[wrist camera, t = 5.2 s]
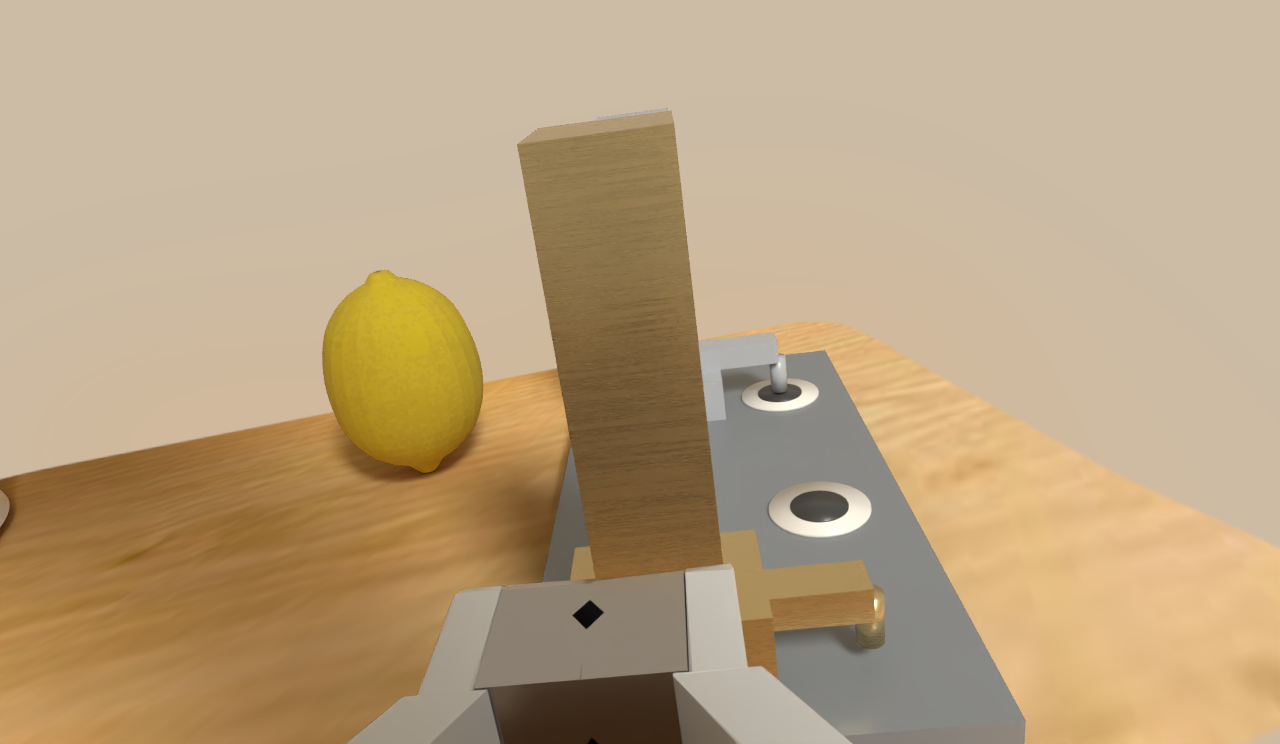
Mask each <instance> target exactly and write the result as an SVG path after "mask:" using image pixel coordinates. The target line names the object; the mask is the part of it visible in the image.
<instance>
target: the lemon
mask: <svg viewBox="0 0 1280 744" xmlns="http://www.w3.org/2000/svg"><path fill="white" fill-rule="evenodd" d="M322 354H323V355H322V356H323V357H322V358H323V374H324V381H325V386H326V390H327V394H328V397H329V401H330V403H331V406H332V409H333V411H334V414H335V416H336V418H337V420H338V422H339V424H340V426H341V428H342V429H343V431H344V432H345V434H346V435H347V436H348V438H349V439H350V440H351V441H352V442H353V443H354V444H355V445H356V446H357V447H358V448H360V449H361V450H362V451H364V452H365V453H367V454H368V455H370V456H371V457H373V458H375V459H377V460H379V461H382V462H386V463H389V464H393V465H400V466H410V467H412V468H414V469H416V470H418V471H420V472H422V473H428V472H432V471H434V470H435V469H436V468H437V467H438V466H439V464H440V463H441V461H442V459H443V458H444V456H446V455H447V454H449V453H451V452H452V451H454V450H455V449H456V448H457V447H458V446H460V445H461V444H462V443H463V442H464V440H465V439H466V438H467V436H468V435H469V434H470V432H471V431H472V429H473V427H474V426H475V424H476V421H477V418H478V416H479V412H480V408H481V403H482V398H483V375H482V368H481V362H480V358H479V355H478V352H477V349H476V346H475V343H474V341H473V338H472V336H471V334H470V332H469V330H468V328H467V326H466V324H465V322H464V320H463V318H462V316H461V315H460V313H459V311H458V310H457V309H456V307H455V306H454V304H453V303H452V302H451V301H450V300H449V299H448V298H447V297H446V296H444V295H443V294H442V293H440V292H439V291H437V290H436V289H434V288H432V287H430V286H428V285H426V284H424V283H421V282H419V281H416V280H412V279H407V278H401V277H397V276H395V275H394V274H393V273H391V272H390V271H389V270H380V271H376V272H373V273H370V274H369V276H368V278H367V280H366V282H365V284H363V285H362V286H360V287H358V288H357V289H356V290H354V291H353V292H351V293H350V294H349V295H347V297H345V299H344V300H343V301H342V302H341V303H340V304H339V305H338V307H337V308H336V309H335V311H334V313H333V315H332V316H331V318H330V320H329V322H328V325H327V328H326V331H325V334H324V341H323V352H322Z"/></svg>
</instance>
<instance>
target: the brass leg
mask: <svg viewBox="0 0 1280 744" xmlns="http://www.w3.org/2000/svg"><path fill="white" fill-rule="evenodd" d="M517 145H518V152H519V157H520V163H521V168H522V174H523V179H524V185H525V190H526V196H527V201H528V207H529V213H530V218H531V223H532V229H533V234H534V240H535V246H536V251H537V257H538V263H539V268H540V273H541V279H542V284H543V290H544V295H545V301H546V307H547V312H548V318H549V324H550V329H551V335H552V340H553V346H554V351H555V357H556V362H557V368H558V373H559V379H560V385H561V390H562V396H563V401H564V407H565V412H566V418H567V423H568V429H569V434H570V440H571V446H572V451H573V457H574V462H575V468H576V473H577V479H578V484H579V490H580V495H581V501H582V507H583V512H584V518H585V523H586V529H587V534H588V540H589V545H590V546H588V547H578V548H575V552H574V558H573V565H572V571H571V577H570V580H583V579H596V580H598V579H607V578H616V577H626V576H635V575H645V574H654V573H663V572H673V571H682V570H684V571H686V569H690V568H697V567H705V566H713V565H721V564H729V563H730V564H731V565H732V567H733V568H734V574H735V581H736V588H737V595H738V602H739V609H740V616H741V623H742V630H743V637H744V644H745V651H746V658H747V666H748V667H757V666H762V667H764V668H765V669H766V670H767V671H768V672H770V673H771V674H772V675H773V676H774V677H775V678H777V679H778V672H777V661H776V650H775V638H774V632H776V631H787V630H798V629H808V628H819V627H830V626H840V625H851V624H855V635H856V642H857V644H858V645H859V646H861V647H863V648H866V649H878V648H880V647H882V646H883V645H884V644H885V611H884V591H883V589H882V588H881V587H879V586H877V585H875V584H872V583H871V580H870V578H869V575H868V573H867V570H866V568H865V565H864V563H863V560H856V561H845V562H835V563H825V564H815V565H805V566H795V567H785V568H774V569H764V570H763V567H762V562H761V557H760V552H759V547H758V542H757V537H756V532H755V530H745V531H735V532H725V533H720V531H719V522H718V514H717V505H716V496H715V487H714V478H713V469H712V460H711V451H710V442H709V433H708V424H707V415H706V406H705V397H704V388H703V379H702V370H701V361H700V352H699V343H698V335H697V326H696V317H695V308H694V299H693V290H692V281H691V273H690V263H689V254H688V245H687V236H686V228H685V219H684V210H683V200H682V191H681V183H680V174H679V164H678V156H677V147H676V138H675V129H674V122H673V117H672V112H671V111H664V112H656V113H649V114H642V115H634V116H627V117H619V118H612V119H605V120H597V121H590V122H582V123H575V124H568V125H560V126H553V127H546V128H538V129H537V130H535V131H534V132H533V133H532V134H530V135H529V136H527V137H526V138H525V139H523V140H522V141H521V142H520V143H518V144H517Z"/></svg>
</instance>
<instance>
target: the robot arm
mask: <svg viewBox="0 0 1280 744" xmlns="http://www.w3.org/2000/svg"><path fill="white" fill-rule="evenodd" d="M9 508H10V503H9V499H8V497H7V496H6V495H5V494H4V493H3V492H2V491H1V490H0V527H1V525H2V524H3V522H4V521H5V519H6V517H7V515H8V512H9ZM346 744H852V743H851V742H850V741H849V740H848V739H847V738H845V737H844V736H843V735H842V734H841V733H840V732H838V731H837V730H836V729H835V728H834V727H833V726H831V725H830V724H829V723H828V722H827V721H826V720H824V719H823V718H822V717H821V716H820V715H819V714H817V713H816V712H815V711H814V710H813V709H812V708H810V707H809V706H808V705H807V704H806V703H805V702H803V701H802V700H801V699H800V698H799V697H798V696H796V695H795V694H794V693H793V692H792V691H791V690H789V689H788V688H787V687H786V686H785V685H784V684H782V683H781V682H780V681H779V680H778V679H777V678H775V677H774V676H773V675H772V674H771V673H770V672H768V671H767V670H766V669H765V668H764V667H762V666H757V667H748V666H747V658H746V651H745V644H744V637H743V630H742V623H741V616H740V609H739V602H738V595H737V588H736V581H735V574H734V568H733V567H732V565H731V564H730V563H729V564H721V565H713V566H705V567H697V568H690V569H686V571H684V570H682V571H673V572H663V573H654V574H645V575H635V576H626V577H616V578H607V579H598V580H596V579H583V580H569V581H555V582H541V583H527V584H513V585H506V586H502V585H500V586H489V587H478V588H468V589H461V590H460V591H459V592H457V593H456V594H455V595H454V597H453V599H452V602H451V604H450V607H449V610H448V613H447V615H446V618H445V621H444V623H443V626H442V629H441V631H440V634H439V637H438V640H437V642H436V645H435V648H434V650H433V653H432V656H431V659H430V661H429V664H428V667H427V669H426V672H425V675H424V677H423V680H422V683H421V686H420V688H419V691H418V694H417V695H414V696H404V697H402V698H401V699H400V700H398V701H397V702H396V703H395V704H393V705H392V706H391V707H390V708H389V709H387V710H386V711H385V712H384V713H383V714H381V715H380V716H379V717H378V718H377V719H375V720H374V721H373V722H372V723H370V724H369V725H368V726H367V727H366V728H364V729H363V730H362V731H361V732H360V733H358V734H357V735H356V736H355V737H353V738H352V739H351V740H350V741H349V742H347V743H346Z"/></svg>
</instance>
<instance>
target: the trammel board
mask: <svg viewBox="0 0 1280 744" xmlns="http://www.w3.org/2000/svg"><path fill="white" fill-rule="evenodd" d="M664 111H668V108H665V109H657V110H650V111H643V112H635V113H628V114H621V115H614V116H606V117H598V118H597V119H596V120H595V121H597V120H605V119H612V118H619V117H627V116H634V115H642V114H649V113H656V112H664ZM698 343H699V352H700V361H701V370H702V379H703V388H704V397H705V406H706V415H707V424H708V433H709V442H710V451H711V460H712V469H713V478H714V487H715V496H716V505H717V514H718V522H719V531H720V533H725V532H735V531H745V530H755V532H756V537H757V542H758V547H759V552H760V557H761V562H762V567H763V570H764V569H774V568H785V567H795V566H805V565H815V564H825V563H835V562H845V561H856V560H863V563H864V565H865V568H866V570H867V573H868V575H869V578H870V580H871V583H872V584H875V585H877V586H879V587H881V588H882V589H883V591H884V611H885V644H884V645H883V646H882V647H880V648H878V649H866V648H863V647H861V646H859V645H858V644H857V642H856V635H855V624H851V625H840V626H830V627H819V628H808V629H798V630H787V631H776V632H774V638H775V650H776V661H777V672H778V680H779V681H780V682H781V683H782V684H784V685H785V686H786V687H787V688H788V689H789V690H791V691H792V692H793V693H794V694H795V695H796V696H798V697H799V698H800V699H801V700H802V701H803V702H805V703H806V704H807V705H808V706H809V707H810V708H812V709H813V710H814V711H815V712H816V713H817V714H819V715H820V716H821V717H822V718H823V719H824V720H826V721H827V722H828V723H829V724H830V725H831V726H833V727H834V728H835V729H836V730H837V731H838V732H840V733H841V734H842V735H843V736H844V737H845V738H847V739H848V740H849V741H850V742H851V743H852V744H1024V740H1025V721H1026V720H1025V718H1024V717H1023V715H1022V713H1021V711H1020V709H1019V707H1018V706H1017V704H1016V702H1015V700H1014V698H1013V696H1012V695H1011V693H1010V691H1009V689H1008V687H1007V685H1006V683H1005V682H1004V680H1003V678H1002V676H1001V674H1000V672H999V671H998V669H997V667H996V665H995V663H994V661H993V659H992V658H991V656H990V654H989V652H988V650H987V648H986V647H985V645H984V643H983V641H982V639H981V637H980V635H979V634H978V632H977V630H976V628H975V626H974V624H973V623H972V621H971V619H970V617H969V615H968V613H967V611H966V610H965V608H964V606H963V604H962V602H961V600H960V599H959V597H958V595H957V593H956V591H955V589H954V588H953V586H952V584H951V582H950V580H949V578H948V576H947V575H946V573H945V571H944V569H943V567H942V565H941V564H940V562H939V560H938V558H937V556H936V554H935V552H934V551H933V549H932V547H931V545H930V543H929V541H928V540H927V538H926V536H925V534H924V532H923V530H922V528H921V527H920V525H919V523H918V521H917V519H916V517H915V516H914V514H913V512H912V510H911V508H910V506H909V505H908V503H907V501H906V499H905V497H904V495H903V493H902V492H901V490H900V488H899V486H898V484H897V482H896V481H895V479H894V477H893V475H892V473H891V471H890V469H889V468H888V466H887V464H886V462H885V460H884V458H883V457H882V455H881V453H880V451H879V449H878V447H877V445H876V444H875V442H874V440H873V438H872V436H871V434H870V433H869V431H868V429H867V427H866V425H865V423H864V421H863V420H862V418H861V416H860V414H859V412H858V410H857V409H856V407H855V405H854V403H853V401H852V399H851V398H850V396H849V394H848V392H847V390H846V388H845V386H844V385H843V383H842V381H841V379H840V377H839V375H838V374H837V372H836V370H835V368H834V366H833V364H832V362H831V361H830V359H829V357H828V355H827V353H826V351H825V350H824V351H816V352H807V353H798V354H790V355H784V354H778V343H777V340H776V337H775V335H774V333H767V334H758V335H750V336H741V337H732V338H724V339H715V340H707V341H698ZM588 546H590V545H589V540H588V534H587V529H586V523H585V518H584V512H583V507H582V501H581V495H580V490H579V484H578V479H577V473H576V468H575V462H574V457H573V451H572V446H571V447H570V452H569V456H568V461H567V466H566V471H565V475H564V480H563V485H562V490H561V494H560V499H559V504H558V509H557V513H556V518H555V523H554V528H553V533H552V537H551V542H550V547H549V552H548V556H547V561H546V566H545V571H544V575H543V580H542V582H555V581H569V580H570V577H571V571H572V565H573V558H574V552H575V548H578V547H588Z"/></svg>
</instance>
